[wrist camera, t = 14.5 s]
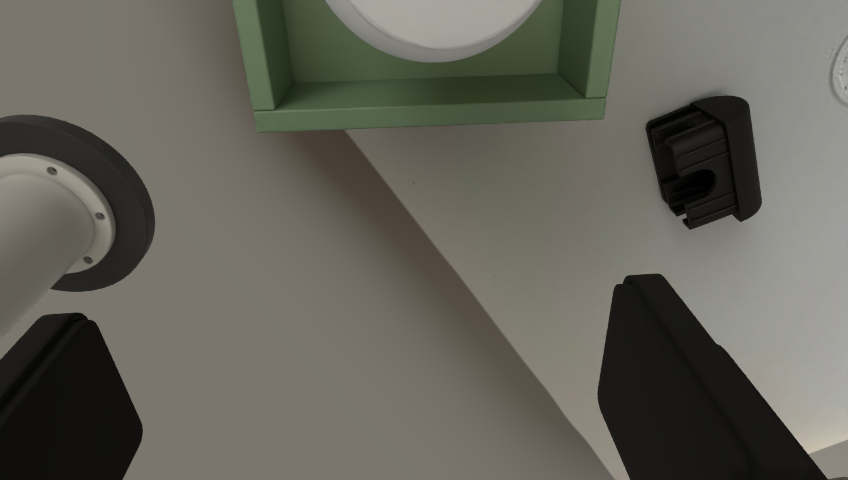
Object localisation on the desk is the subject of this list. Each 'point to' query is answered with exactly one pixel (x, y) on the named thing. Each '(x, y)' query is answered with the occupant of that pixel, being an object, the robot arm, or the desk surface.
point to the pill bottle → (433, 25)
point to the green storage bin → (422, 71)
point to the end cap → (707, 160)
